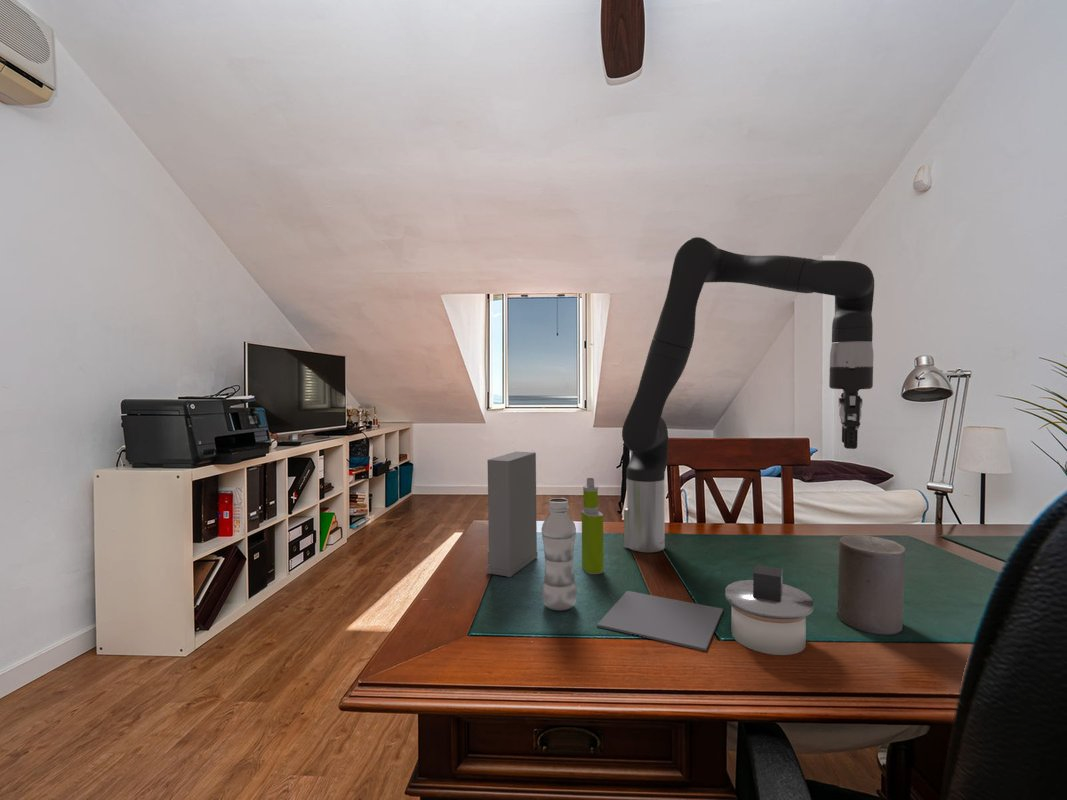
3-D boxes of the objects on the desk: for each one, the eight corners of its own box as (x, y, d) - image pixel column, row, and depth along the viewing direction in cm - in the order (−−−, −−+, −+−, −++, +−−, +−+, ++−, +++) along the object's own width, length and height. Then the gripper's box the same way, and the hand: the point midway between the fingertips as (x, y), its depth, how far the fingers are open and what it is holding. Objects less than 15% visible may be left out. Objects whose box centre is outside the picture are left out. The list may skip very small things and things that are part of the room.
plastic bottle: (581, 602, 102) (580, 497, 101) (571, 617, 95) (570, 505, 94) (548, 597, 104) (547, 495, 103) (537, 612, 97) (536, 503, 96)
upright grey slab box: (514, 554, 129) (513, 451, 128) (537, 557, 127) (536, 452, 126) (485, 573, 117) (483, 459, 116) (510, 578, 114) (508, 461, 113)
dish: (725, 645, 85) (725, 607, 85) (735, 616, 95) (736, 583, 95) (805, 662, 80) (805, 622, 79) (807, 630, 89) (807, 595, 89)
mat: (597, 626, 92) (597, 624, 92) (627, 592, 106) (627, 590, 106) (705, 651, 83) (705, 648, 83) (723, 610, 97) (723, 608, 97)
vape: (595, 563, 122) (595, 476, 121) (605, 573, 116) (605, 481, 116) (580, 565, 121) (579, 477, 120) (589, 574, 116) (588, 482, 115)
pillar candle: (824, 615, 95) (826, 532, 94) (860, 605, 99) (863, 524, 98) (879, 640, 86) (881, 548, 85) (916, 628, 90) (919, 540, 89)
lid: (719, 608, 84) (719, 577, 84) (731, 580, 96) (731, 553, 96) (812, 626, 78) (812, 592, 78) (813, 594, 90) (814, 564, 89)
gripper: (828, 365, 116) (827, 440, 116) (830, 365, 103) (828, 449, 104) (869, 365, 112) (867, 442, 113) (877, 364, 100) (874, 451, 100)
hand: (849, 445), depth 108 cm, fingers open, 8 cm apart
